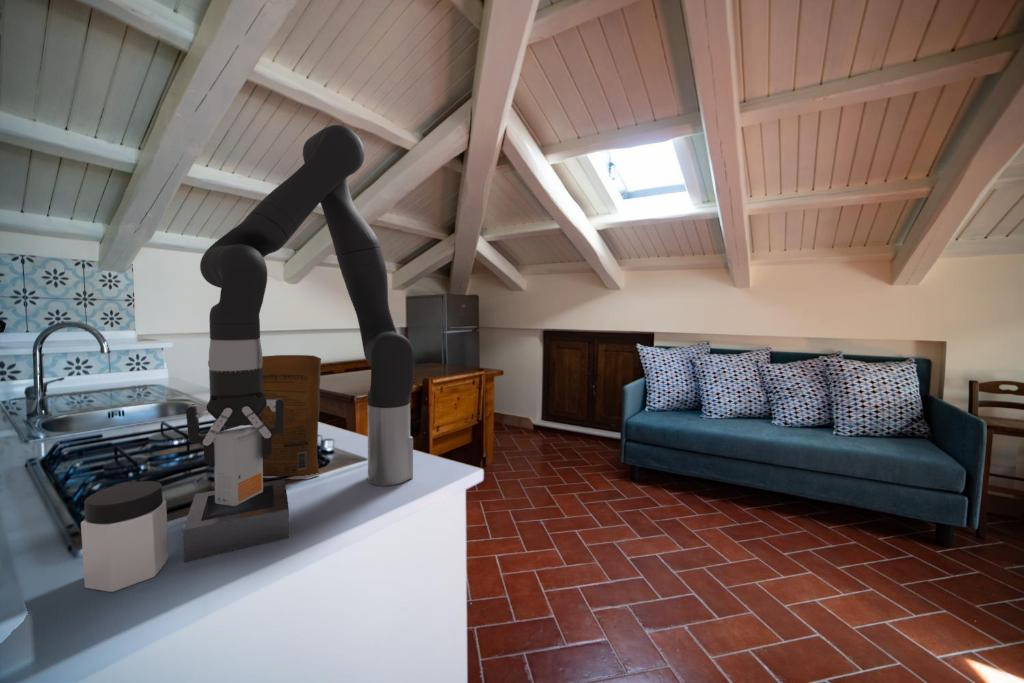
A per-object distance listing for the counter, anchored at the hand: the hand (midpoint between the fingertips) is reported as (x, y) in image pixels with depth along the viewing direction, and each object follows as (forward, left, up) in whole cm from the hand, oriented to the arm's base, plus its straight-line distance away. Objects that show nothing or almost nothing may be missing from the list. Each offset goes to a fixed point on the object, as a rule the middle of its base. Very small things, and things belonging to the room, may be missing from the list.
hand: (239, 461), depth 72 cm
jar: (+13, +7, -12) cm, 19 cm away
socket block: (0, 0, -12) cm, 12 cm away
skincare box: (0, 0, -7) cm, 7 cm away
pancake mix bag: (-7, -22, -12) cm, 26 cm away
